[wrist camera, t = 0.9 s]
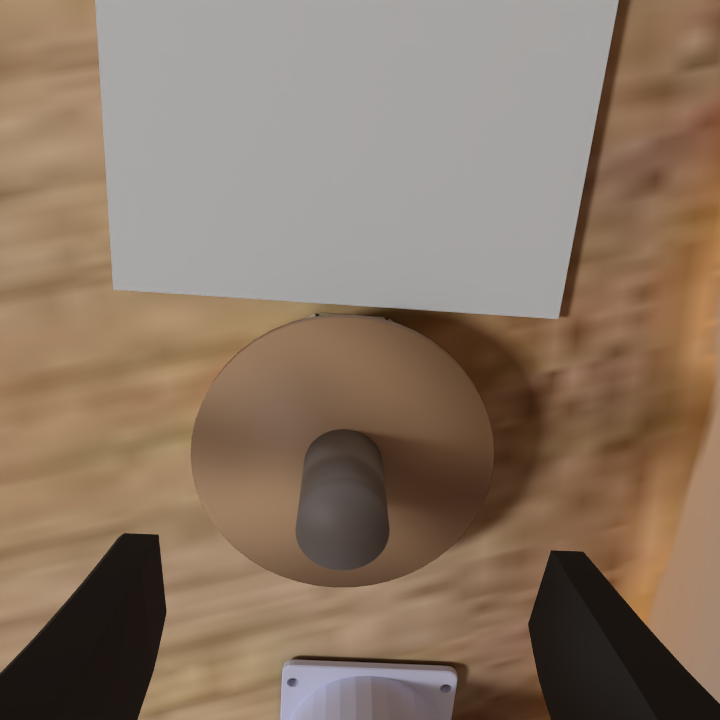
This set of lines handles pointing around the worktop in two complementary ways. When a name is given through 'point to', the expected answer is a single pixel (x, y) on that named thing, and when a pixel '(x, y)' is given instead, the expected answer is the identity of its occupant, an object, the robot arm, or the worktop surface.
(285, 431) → the walnut lid
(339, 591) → the worktop surface
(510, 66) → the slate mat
